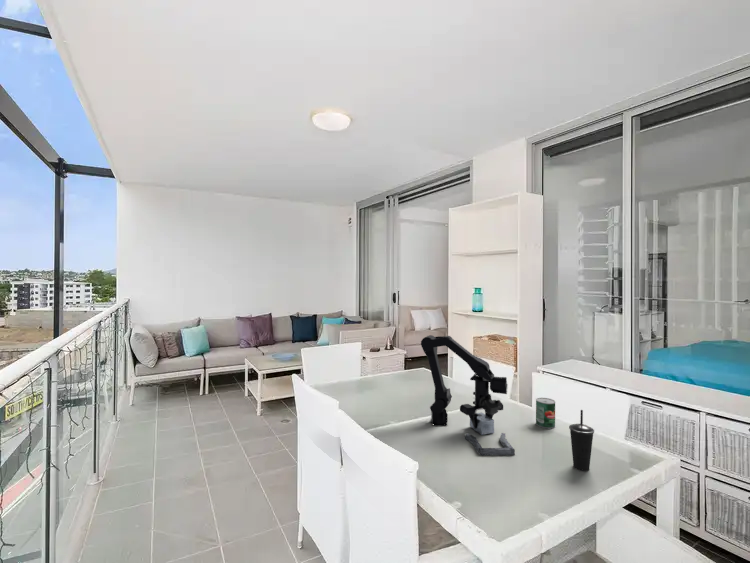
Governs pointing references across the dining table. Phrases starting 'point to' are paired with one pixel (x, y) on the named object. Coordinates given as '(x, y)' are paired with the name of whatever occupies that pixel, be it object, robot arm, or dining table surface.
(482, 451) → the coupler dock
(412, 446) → the dining table surface
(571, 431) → the drinking cup
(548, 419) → the canned tomato
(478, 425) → the block
